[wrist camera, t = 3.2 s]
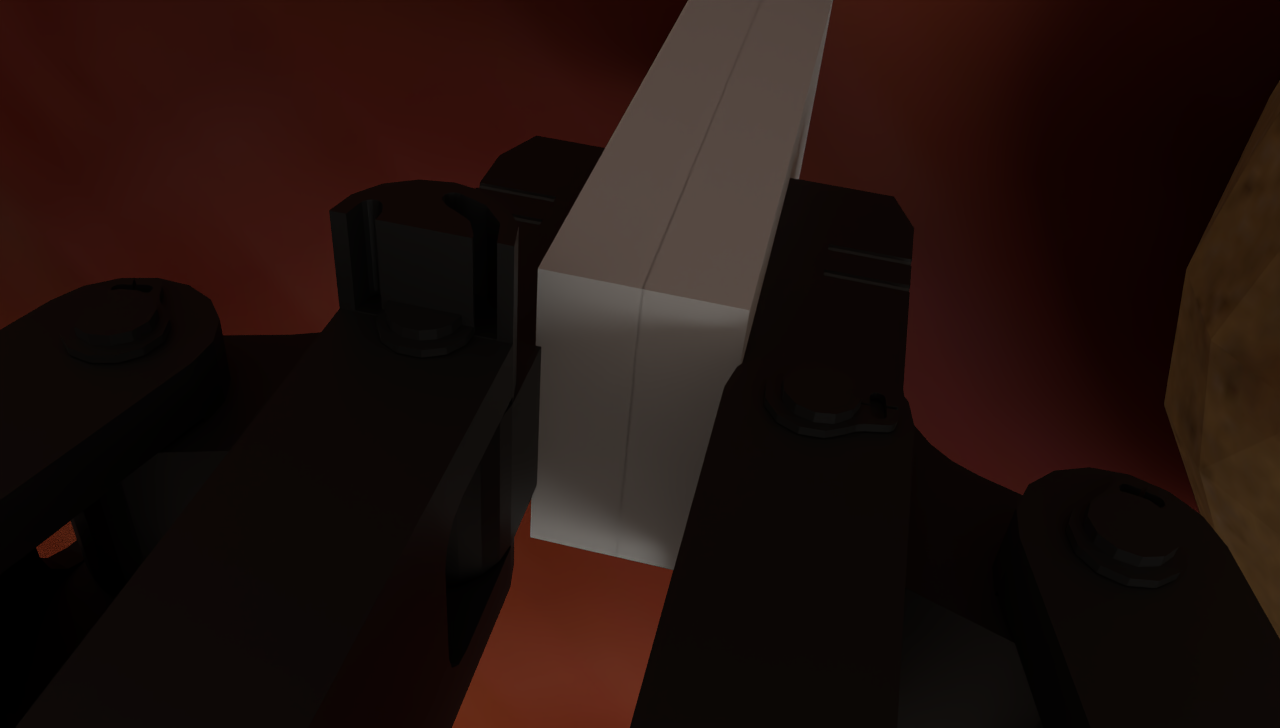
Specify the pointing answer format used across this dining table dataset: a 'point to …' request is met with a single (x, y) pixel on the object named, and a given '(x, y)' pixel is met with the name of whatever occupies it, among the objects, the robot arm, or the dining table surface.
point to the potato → (1236, 365)
